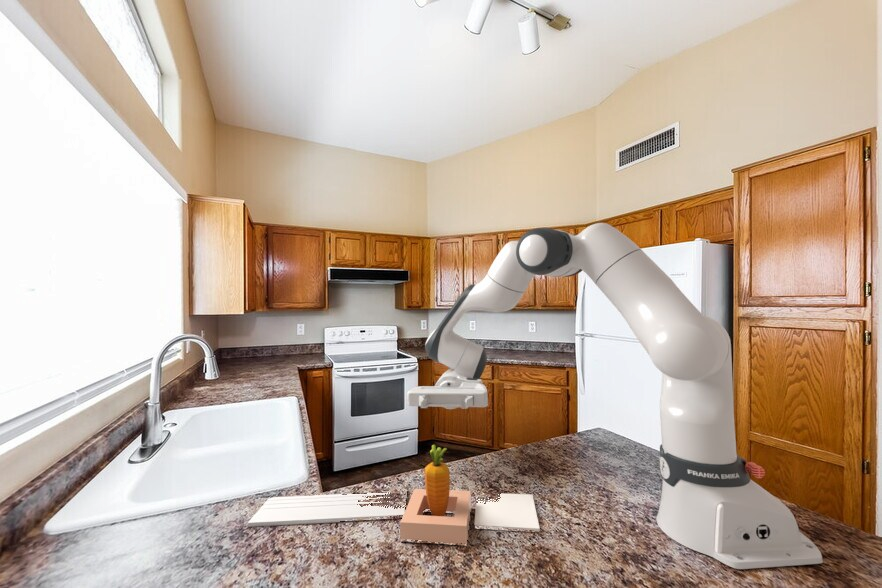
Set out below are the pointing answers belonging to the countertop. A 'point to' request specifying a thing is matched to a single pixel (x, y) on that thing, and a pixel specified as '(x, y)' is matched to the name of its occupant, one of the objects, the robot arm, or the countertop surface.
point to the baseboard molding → (319, 509)
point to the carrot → (437, 483)
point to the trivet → (508, 512)
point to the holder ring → (437, 519)
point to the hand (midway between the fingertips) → (443, 405)
